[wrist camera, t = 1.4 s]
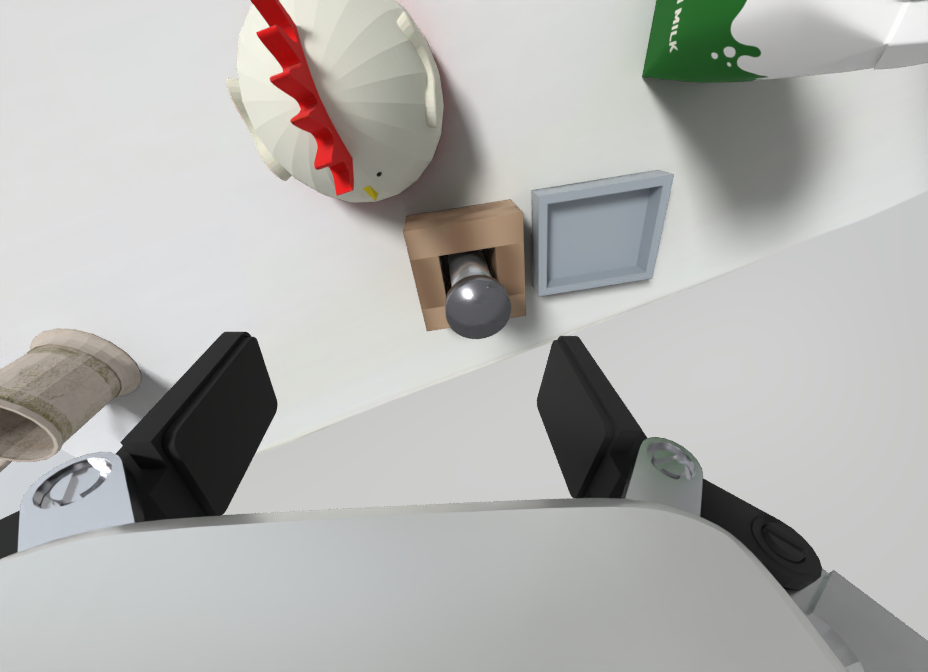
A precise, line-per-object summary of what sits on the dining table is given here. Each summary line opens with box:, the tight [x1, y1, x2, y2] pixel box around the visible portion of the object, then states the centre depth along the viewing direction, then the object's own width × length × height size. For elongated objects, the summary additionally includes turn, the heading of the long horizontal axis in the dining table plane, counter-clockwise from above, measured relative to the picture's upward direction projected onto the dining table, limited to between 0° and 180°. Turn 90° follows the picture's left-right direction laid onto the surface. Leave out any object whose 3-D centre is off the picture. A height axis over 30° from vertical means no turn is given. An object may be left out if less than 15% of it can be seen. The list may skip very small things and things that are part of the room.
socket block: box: [403, 199, 526, 331], centre depth 32 cm, size 10×10×5 cm
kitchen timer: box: [226, 0, 444, 202], centre depth 20 cm, size 14×14×15 cm
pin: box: [445, 249, 511, 339], centre depth 29 cm, size 5×5×11 cm
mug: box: [0, 329, 141, 472], centre depth 33 cm, size 14×10×12 cm
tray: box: [531, 170, 674, 296], centre depth 33 cm, size 12×10×2 cm
